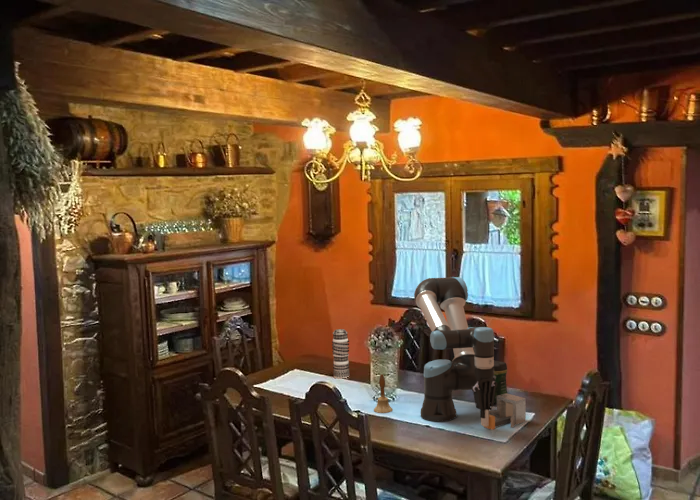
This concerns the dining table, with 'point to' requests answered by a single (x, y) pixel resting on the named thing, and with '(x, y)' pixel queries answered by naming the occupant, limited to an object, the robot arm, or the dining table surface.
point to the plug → (507, 419)
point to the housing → (518, 408)
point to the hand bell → (382, 399)
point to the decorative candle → (340, 354)
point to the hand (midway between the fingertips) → (484, 425)
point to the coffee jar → (500, 378)
